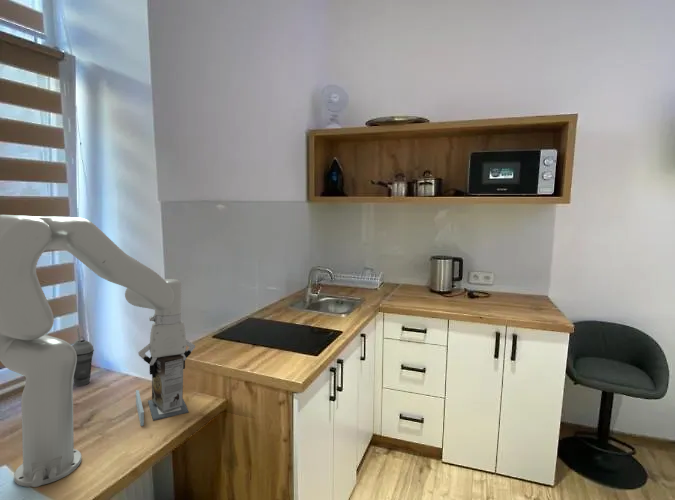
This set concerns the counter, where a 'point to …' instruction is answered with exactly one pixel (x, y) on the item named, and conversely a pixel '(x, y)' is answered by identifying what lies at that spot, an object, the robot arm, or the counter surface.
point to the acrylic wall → (139, 408)
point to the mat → (160, 414)
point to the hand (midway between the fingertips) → (167, 373)
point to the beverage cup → (82, 361)
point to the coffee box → (168, 382)
